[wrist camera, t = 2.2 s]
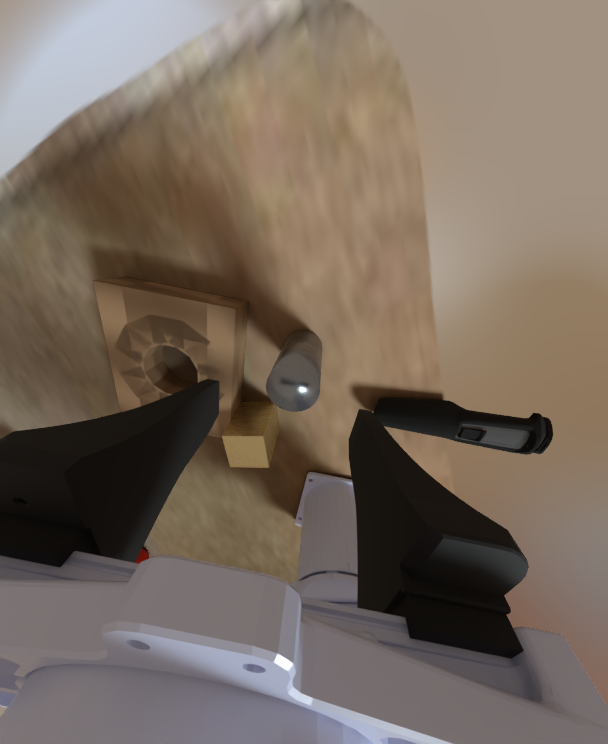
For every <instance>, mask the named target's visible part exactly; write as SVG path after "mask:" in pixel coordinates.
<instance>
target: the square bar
mask: <svg viewBox="0 0 608 744" xmlns="http://www.w3.org/2000/svg"><path fill="white" fill-rule="evenodd" d="M279 430H280V429H279V422H278V415H277V407H276V405H275V404H274V403H273V402H241V404H240V406H239V407H238V409H237V411H236V412H235V414H234V416H233V418H232V419H231V421H230V423H229V424H228V426H227V428H226V429H225V431H224V433H223V435H222V439H223V442H224V446H225V450H226V453H227V457H228V461H229V464H230V467H251V468H269V466H270V462H271V459H272V455H273V451H274V448H275V444H276V441H277V437H278V433H279Z"/></svg>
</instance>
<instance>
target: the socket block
mask: <svg viewBox="0 0 608 744" xmlns="http://www.w3.org/2000/svg"><path fill="white" fill-rule="evenodd" d="M93 283H94V288H95V293H96V297H97V302H98V307H99V312H100V316H101V321H102V326H103V331H104V335H105V340H106V345H107V350H108V354H109V359H110V364H111V369H112V374H113V378H114V383H115V388H116V393H117V397H118V402H119V407H120V412H124V411H128V410H131V409H134V408H137V407H140V406H143V405H146V404H149V403H152V402H154V401H157V400H159V399H162V398H164V397H167V396H169V395H172V394H174V393H176V392H179V391H181V390H183V389H185V388H188V387H190V386H192V385H194V384H196V383H199V382H201V381H203V380H206V379H212V380H217V381H220V383H219V415H218V417H217V419H216V421H215V423H214V425H213V427H212V428H211V430H210V432H209V433H208V435H207V436H212V437H217V438H222V435H223V433H224V431H225V429H226V428H227V426H228V424H229V423H230V421H231V419H232V418H233V416H234V414H235V412H236V411H237V409H238V407H239V406H240V404H241V402H242V388H243V373H244V359H245V344H246V330H247V315H248V301H245V300H240V299H235V298H230V297H225V296H220V295H214V294H209V293H204V292H199V291H194V290H189V289H184V288H179V287H174V286H169V285H164V284H159V283H154V282H149V281H144V280H139V279H134V278H129V277H121V278H112V279H103V280H94V281H93Z"/></svg>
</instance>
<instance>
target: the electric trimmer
mask: <svg viewBox="0 0 608 744" xmlns="http://www.w3.org/2000/svg"><path fill="white" fill-rule="evenodd" d="M373 414H374V415H375V416H376V418H377V419H378V420H379V421H380V423H381V424H382V425H383V426H386V427H391V428H396V429H401V430H407V431H412V432H417V433H422V434H427V435H432V436H438V437H443V438H447V439H450V440H454V441H457V442H462V443H467V444H472V445H477V446H482V447H487V448H492V449H497V450H502V451H507V452H513V453H520V454H531V453H537V454H541V453H543V452H544V451H545V449H546V448H547V447H548V446H549V444H550V442H551V440H552V437H553V431H552V424H551V421H550V420H549V419H548V418H545V417H542V416H541V414H538V413H533V414H532V415H531V416H530V417H529V418H518V417H511V416H504V415H497V414H490V413H482V412H476V411H469V410H466V409H464V408H462V407H460V406H458V405H456V404H454V403H453V402H450V401H445V400H428V399H400V398H381V399H379V401H378V403H377V405H376V408H375V410H374V413H373Z"/></svg>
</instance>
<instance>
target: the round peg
mask: <svg viewBox="0 0 608 744" xmlns="http://www.w3.org/2000/svg"><path fill="white" fill-rule="evenodd" d="M321 361H322V343H321V340H320V339H319V337H318V336H317V335H316V334H315V333H313V332H311V331H308V330H298V331H295V332H293V333H292V334H290V335H289V337H288V338H287V340H286V342H285V344H284V346H283V348H282V350H281V352H280V354H279V356H278V358H277V361H276V363H275V365H274V367H273V369H272V371H271V373H270V375H269V377H268V379H267V383H266V390H267V394H268V396H269V398H270V400H271V401H272V402H273V403H274V404H275V405H276V406H278V407H279V408H281V409H284V410H287V411H292V412H297V411H303V410H306V409H308V408H310V407H311V406H312V405H313V404H314V403H315V402H316V401H317V399H318V397H319V392H320V377H321Z"/></svg>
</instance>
